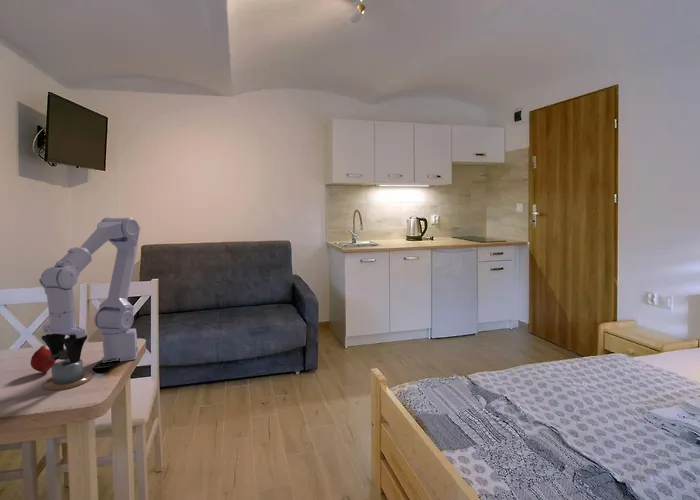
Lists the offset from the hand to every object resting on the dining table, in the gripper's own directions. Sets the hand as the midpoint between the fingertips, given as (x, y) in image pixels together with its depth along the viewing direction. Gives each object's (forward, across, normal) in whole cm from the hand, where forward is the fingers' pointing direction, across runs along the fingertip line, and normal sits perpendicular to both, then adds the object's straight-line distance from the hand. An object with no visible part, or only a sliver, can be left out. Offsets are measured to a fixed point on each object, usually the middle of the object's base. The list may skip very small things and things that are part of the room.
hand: (66, 360), depth 113 cm
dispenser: (+6, 0, 0) cm, 6 cm away
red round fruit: (+6, -13, +1) cm, 14 cm away
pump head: (0, 0, -1) cm, 1 cm away
